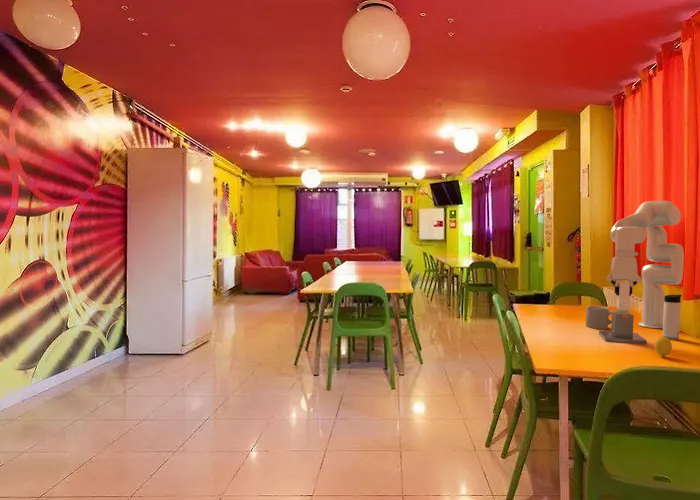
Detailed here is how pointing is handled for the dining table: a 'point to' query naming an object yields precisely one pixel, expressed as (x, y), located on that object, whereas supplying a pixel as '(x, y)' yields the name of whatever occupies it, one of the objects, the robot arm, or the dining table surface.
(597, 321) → the coffee mug
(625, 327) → the post stand
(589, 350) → the dining table surface
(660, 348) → the lemon
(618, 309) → the steel post
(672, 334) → the travel mug
